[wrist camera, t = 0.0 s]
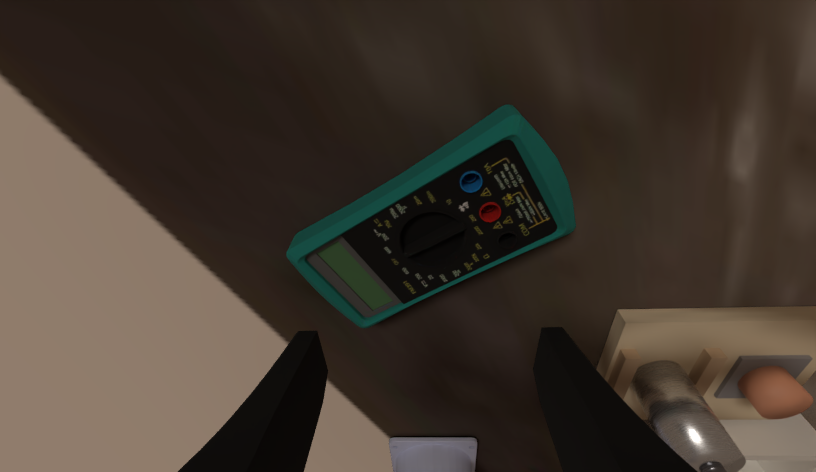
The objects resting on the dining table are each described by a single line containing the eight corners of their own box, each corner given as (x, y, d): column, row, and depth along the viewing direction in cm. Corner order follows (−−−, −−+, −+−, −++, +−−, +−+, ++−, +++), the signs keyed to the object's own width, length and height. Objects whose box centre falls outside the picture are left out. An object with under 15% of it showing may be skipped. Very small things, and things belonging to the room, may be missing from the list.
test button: (774, 392, 26) (798, 419, 25) (730, 392, 27) (750, 419, 25) (796, 365, 25) (823, 392, 23) (749, 366, 25) (772, 392, 23)
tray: (755, 456, 34) (786, 500, 31) (672, 456, 35) (695, 499, 32) (797, 410, 30) (838, 456, 27) (702, 411, 30) (732, 455, 28)
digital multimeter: (573, 204, 21) (594, 232, 18) (364, 307, 26) (359, 340, 23) (519, 90, 18) (535, 106, 15) (291, 232, 22) (275, 261, 20)
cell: (673, 391, 27) (734, 489, 22) (622, 391, 27) (671, 488, 22) (691, 359, 25) (763, 458, 20) (636, 360, 25) (693, 458, 20)
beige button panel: (761, 405, 30) (781, 429, 28) (583, 405, 31) (592, 429, 29) (841, 305, 24) (873, 329, 22) (617, 309, 24) (631, 332, 23)
